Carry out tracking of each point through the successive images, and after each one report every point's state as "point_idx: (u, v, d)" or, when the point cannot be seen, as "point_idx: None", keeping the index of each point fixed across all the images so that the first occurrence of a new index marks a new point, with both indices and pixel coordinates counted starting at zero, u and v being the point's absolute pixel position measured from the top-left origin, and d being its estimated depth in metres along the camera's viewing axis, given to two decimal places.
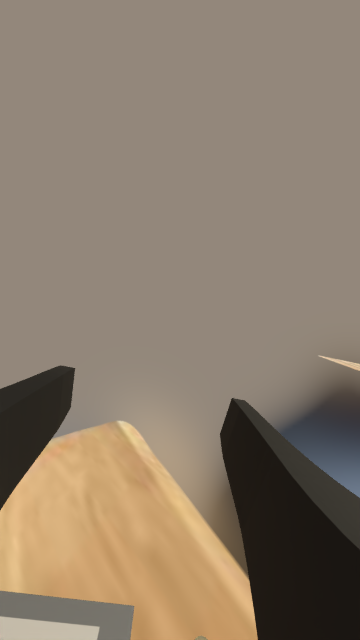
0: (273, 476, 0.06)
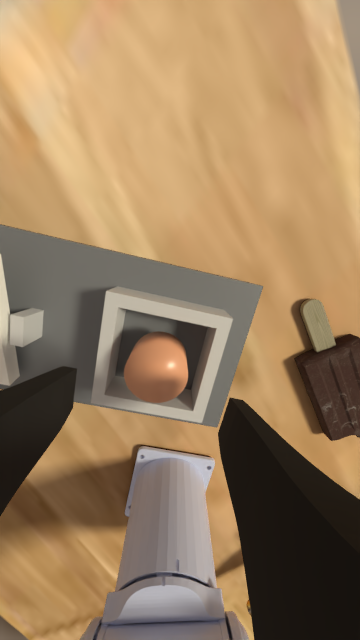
0: (270, 475, 0.06)
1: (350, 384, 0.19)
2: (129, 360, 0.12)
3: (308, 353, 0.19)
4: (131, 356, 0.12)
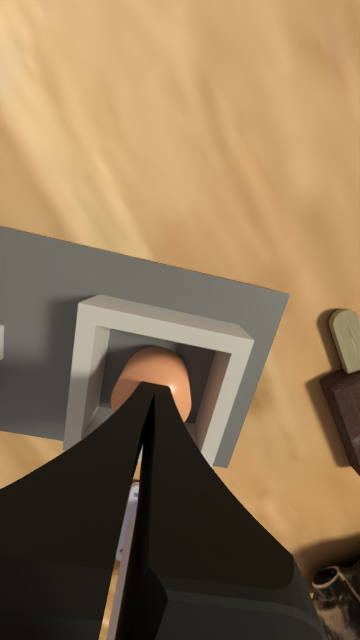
0: (151, 456, 0.06)
1: None
2: (117, 386, 0.09)
3: (337, 374, 0.16)
4: (120, 381, 0.09)
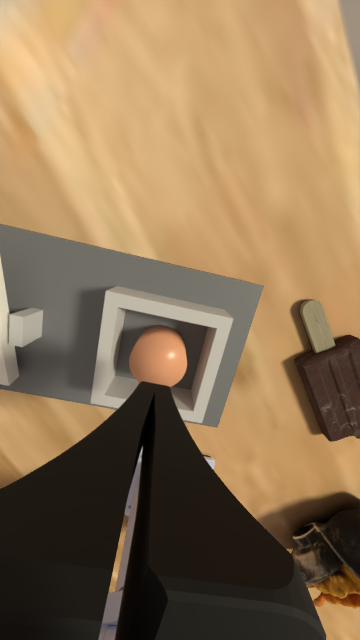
0: (151, 456, 0.06)
1: (349, 385, 0.19)
2: (134, 350, 0.13)
3: (307, 354, 0.19)
4: (136, 346, 0.13)
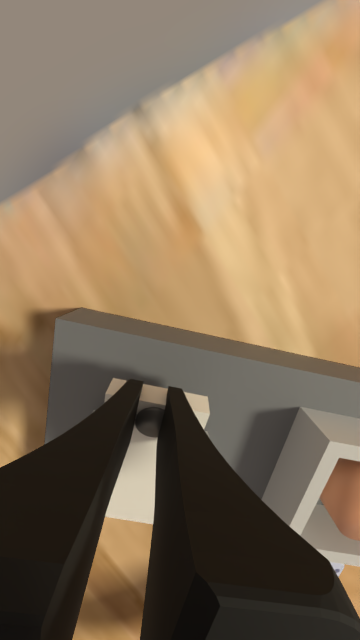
0: (172, 459, 0.06)
1: None
2: (347, 502, 0.11)
3: None
4: (349, 498, 0.11)
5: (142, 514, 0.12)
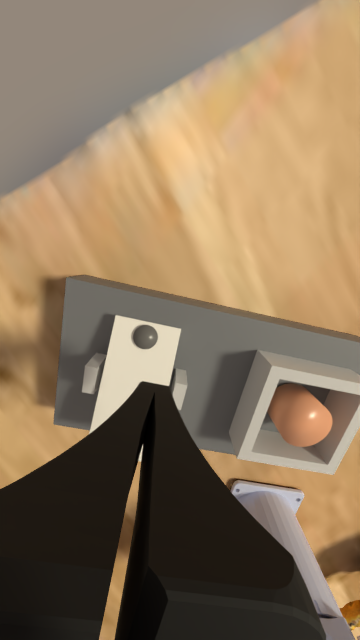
0: (151, 456, 0.06)
1: None
2: (287, 414, 0.14)
3: None
4: (289, 411, 0.14)
5: None
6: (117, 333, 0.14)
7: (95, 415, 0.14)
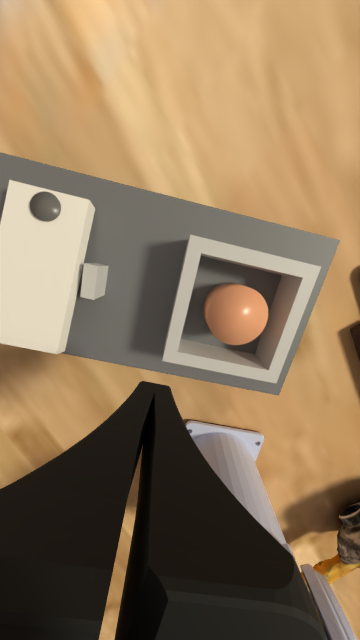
0: (151, 456, 0.06)
1: None
2: (214, 301, 0.12)
3: None
4: (216, 297, 0.12)
5: (30, 334, 0.12)
6: (12, 202, 0.12)
7: None
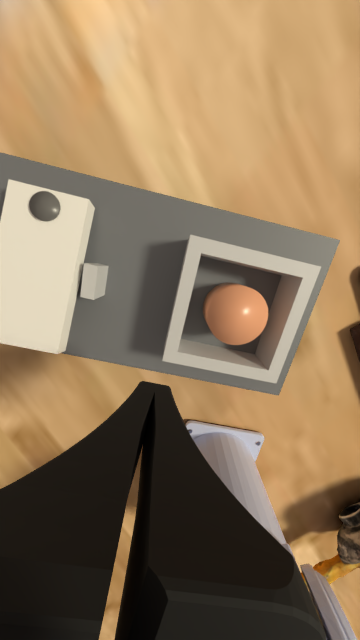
0: (151, 456, 0.06)
1: None
2: (214, 301, 0.12)
3: None
4: (216, 297, 0.12)
5: (31, 334, 0.12)
6: (11, 201, 0.12)
7: None
